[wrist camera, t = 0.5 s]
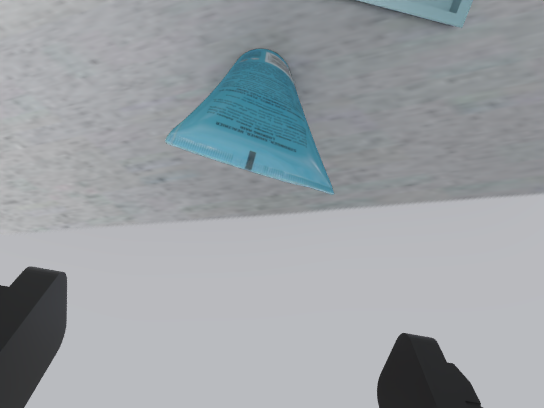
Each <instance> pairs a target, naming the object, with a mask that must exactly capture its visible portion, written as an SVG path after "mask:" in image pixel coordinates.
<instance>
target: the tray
mask: <svg viewBox="0 0 544 408" xmlns="http://www.w3.org/2000/svg"><path fill="white" fill-rule="evenodd" d="M356 1H360V2H363V3H367V4H371V5H375V6H378V7H382V8H386V9H390V10H394V11H397V12H401V13H405V14H409V15H413V16H416V17H420V18H424V19H428V20H431V21H435V22H439V23H443V24H447V25H450V26H455V27H460V28H462V27H463V24H464V22H465V19H466V17H467V14H468V12H469V9H470V7H471V4H472V2H473V0H356Z"/></svg>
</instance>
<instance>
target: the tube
mask: <svg viewBox="0 0 544 408" xmlns="http://www.w3.org/2000/svg"><path fill="white" fill-rule="evenodd" d="M165 142H166V143H167V144H169V145H172V146H175V147H178V148H181V149H183V150H186V151H189V152H192V153H194V154H198V155H201V156H204V157H207V158H210V159H213V160H216V161H219V162H222V163H225V164H229V165H232V166H235V167H238V168H241V169H245V170H248V171H250V172H254V173H257V174H260V175H264V176H267V177H270V178H274V179H277V180H280V181H283V182H288V183H292V184H296V185H300V186H305V187H309V188H312V189H316V190H319V191H322V192H325V193H328V194H331V195H333V194H334V192H333V188H332V185H331V183H330V180H329V178H328V175H327V173H326V171H325V168H324V166H323V163H322V161H321V158H320V155H319V153H318V150H317V148H316V145H315V143H314V140H313V137H312V135H311V132H310V129H309V126H308V124H307V121H306V118H305V115H304V113H303V109H302V107H301V104H300V101H299V98H298V95H297V92H296V89H295V86H294V82H293V79H292V76H291V73H290V70H289V68H288V65H287V64H286V62H285V61H284V60H283V58H282V57H280V56H279V55H278V54H277V53H275V52H273V51H271V50H267V49H254V50H251V51H248V52H246V53H245V54H243V55H242V56H241V57H240V58H239V59H238V60H237V61H236V63H235V64H234V65H233V67H232V68H231V70H230V71H229V72H228V74H227V75H226V76H225V77H224V79H223V80H222V81H221V82H220V84H219V85H218V86H217V87H216V88H215V89H214V91H213V92H212V93H211V94H210V95H209V96H208V97H207V98H206V99H205V100H204V101H203V102H202V103H201V104H200V105H199V106H198V107H197V108H196V109H195V110H194V111H193V112H192V113H191V114H190V115H189V116H188V117H187V118H186V119H184V120H183V121H182V122H181V123H180V124H179V125H177V126H176V127H175V128H174V129H173V130H172V131H171V132H170V133H169V135H168V136H167V138H166V141H165Z"/></svg>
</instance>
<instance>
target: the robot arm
mask: <svg viewBox="0 0 544 408" xmlns="http://www.w3.org/2000/svg"><path fill="white" fill-rule="evenodd" d="M66 311H67V277H66V274H65V273H64V272H59V271H54V270H48V269H43V268H37V267H27V268H26V269H25V270H24V271H23V272H22V273H21V274H20V275H19V277H18V278H17V279H16V280H15V281H14V282H13V283H12V284H11V285H10V287H7V286H1V285H0V408H24V407H25V405H26V404H27V402H28V400H29V398H30V397H31V395H32V393H33V392H34V390H35V388H36V387H37V385H38V383H39V382H40V380H41V378H42V377H43V375H44V373H45V372H46V370H47V368H48V367H49V365H50V363H51V361H52V360H53V358H54V356H55V355H56V353H57V351H58V349H59V347H60V345H61V343H62V340H63V337H64V334H65V329H66V314H67V313H66ZM377 398H378V404H379V408H483V407H481V406H480V405H481V403H480V401H479V399H478V397H477V395H476V393H475V391H474V389H473V387H472V385H471V383H470V382H469V381H468V380H467V378H466V377H465V376H464V375H463V374H462V373H461V372H460V371H459V369H458V368H457V367H456V366H455V365H454V364H453V363H447V362H446V360H445V358H444V355H443V353H442V351H441V349H440V347H439V345H438V343H437V341H436V340H435V339H433V338H429V337H424V336H418V335H412V334H406V333H402V334H401V335H400V336H399V337H398V338H397V340H396V343H395V344H394V347H393V349H392V351H391V353H390V355H389V357H388V359H387V361H386V364H385V366H384V368H383V370H382V372H381V374H380V377H379V381H378V386H377Z"/></svg>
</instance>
